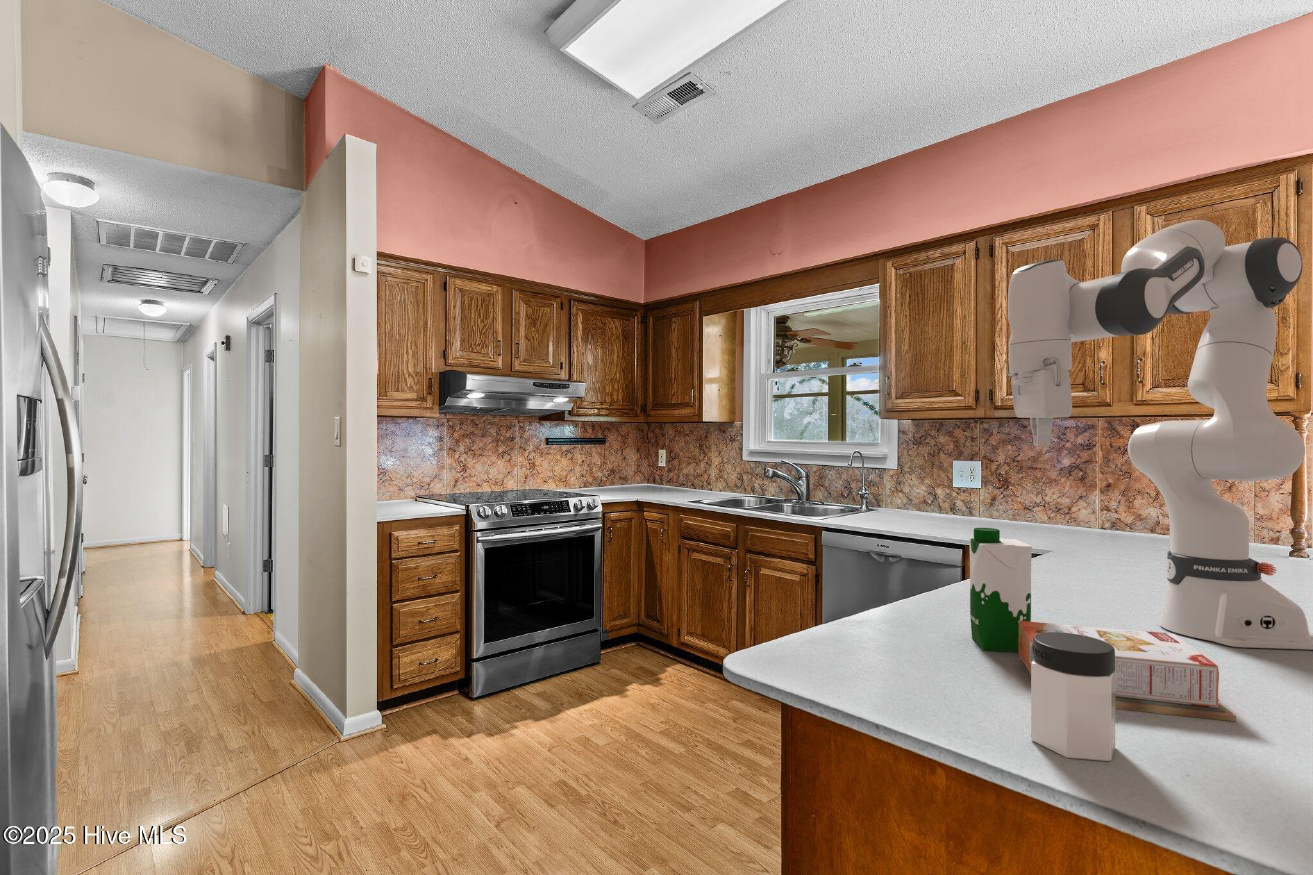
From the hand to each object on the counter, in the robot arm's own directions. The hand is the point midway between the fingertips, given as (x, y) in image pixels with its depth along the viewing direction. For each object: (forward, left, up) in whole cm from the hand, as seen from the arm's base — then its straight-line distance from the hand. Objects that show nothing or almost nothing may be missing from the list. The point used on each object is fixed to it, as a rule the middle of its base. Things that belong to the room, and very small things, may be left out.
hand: (1041, 445), depth 106 cm
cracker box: (+5, +11, -31) cm, 33 cm away
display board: (-7, +11, -35) cm, 37 cm away
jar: (+4, +33, -35) cm, 48 cm away
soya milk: (+5, -4, -35) cm, 35 cm away
